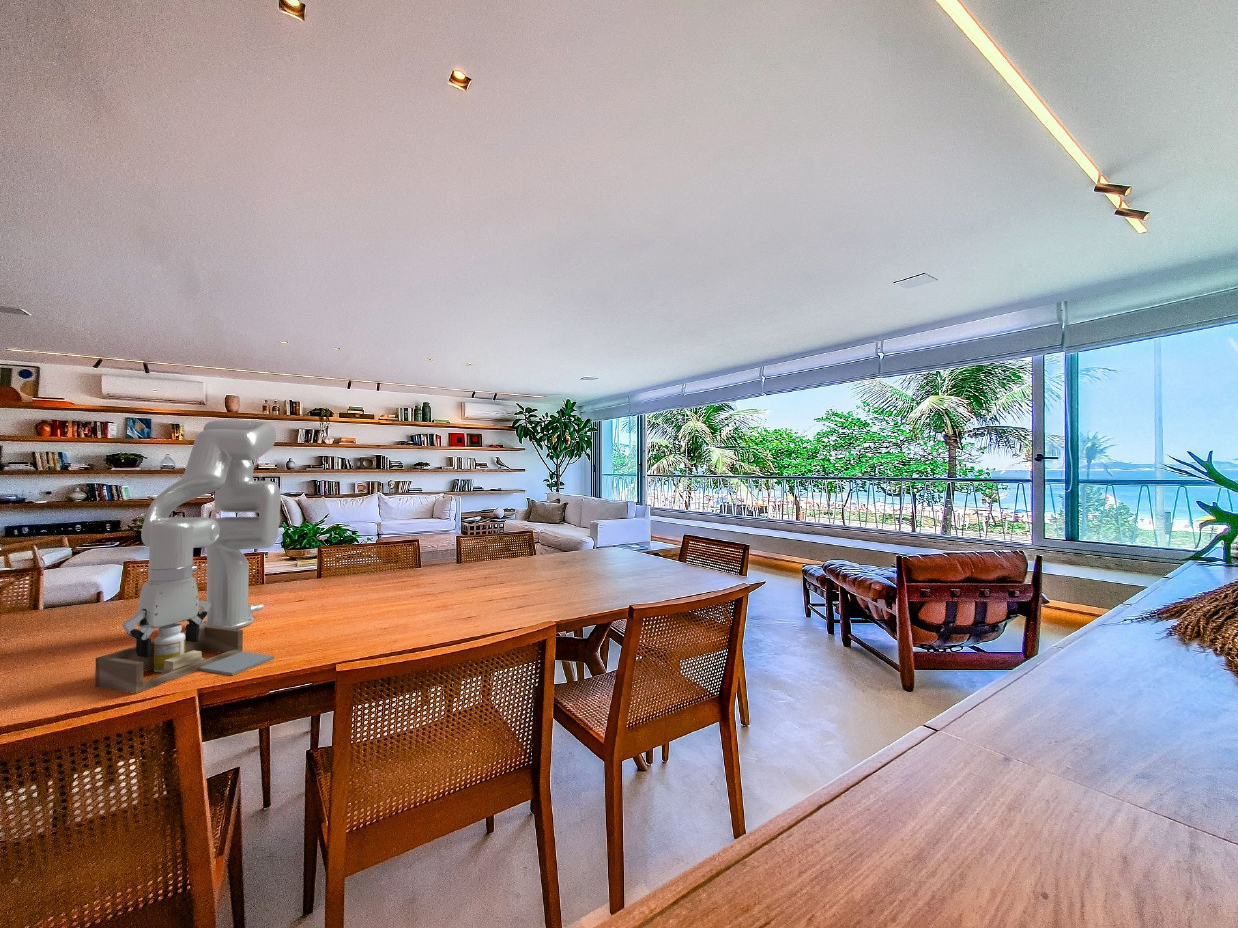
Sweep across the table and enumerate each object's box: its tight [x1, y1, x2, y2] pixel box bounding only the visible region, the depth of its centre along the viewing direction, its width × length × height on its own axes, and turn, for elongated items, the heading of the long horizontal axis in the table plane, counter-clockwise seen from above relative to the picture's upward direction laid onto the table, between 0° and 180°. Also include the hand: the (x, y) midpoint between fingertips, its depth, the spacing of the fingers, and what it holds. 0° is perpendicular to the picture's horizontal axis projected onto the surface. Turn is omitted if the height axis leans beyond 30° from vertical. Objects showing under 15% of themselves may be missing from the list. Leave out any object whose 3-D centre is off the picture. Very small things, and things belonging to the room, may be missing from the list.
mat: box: [198, 651, 275, 676], centre depth 115 cm, size 10×10×1 cm
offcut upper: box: [164, 650, 203, 670], centre depth 111 cm, size 6×3×2 cm, turn 167°
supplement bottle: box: [152, 623, 185, 673], centre depth 113 cm, size 5×5×10 cm
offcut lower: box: [161, 657, 206, 675], centre depth 111 cm, size 7×3×2 cm, turn 165°
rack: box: [94, 625, 244, 694], centre depth 112 cm, size 22×12×6 cm, turn 166°
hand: (168, 648), depth 112 cm, fingers open, 9 cm apart
